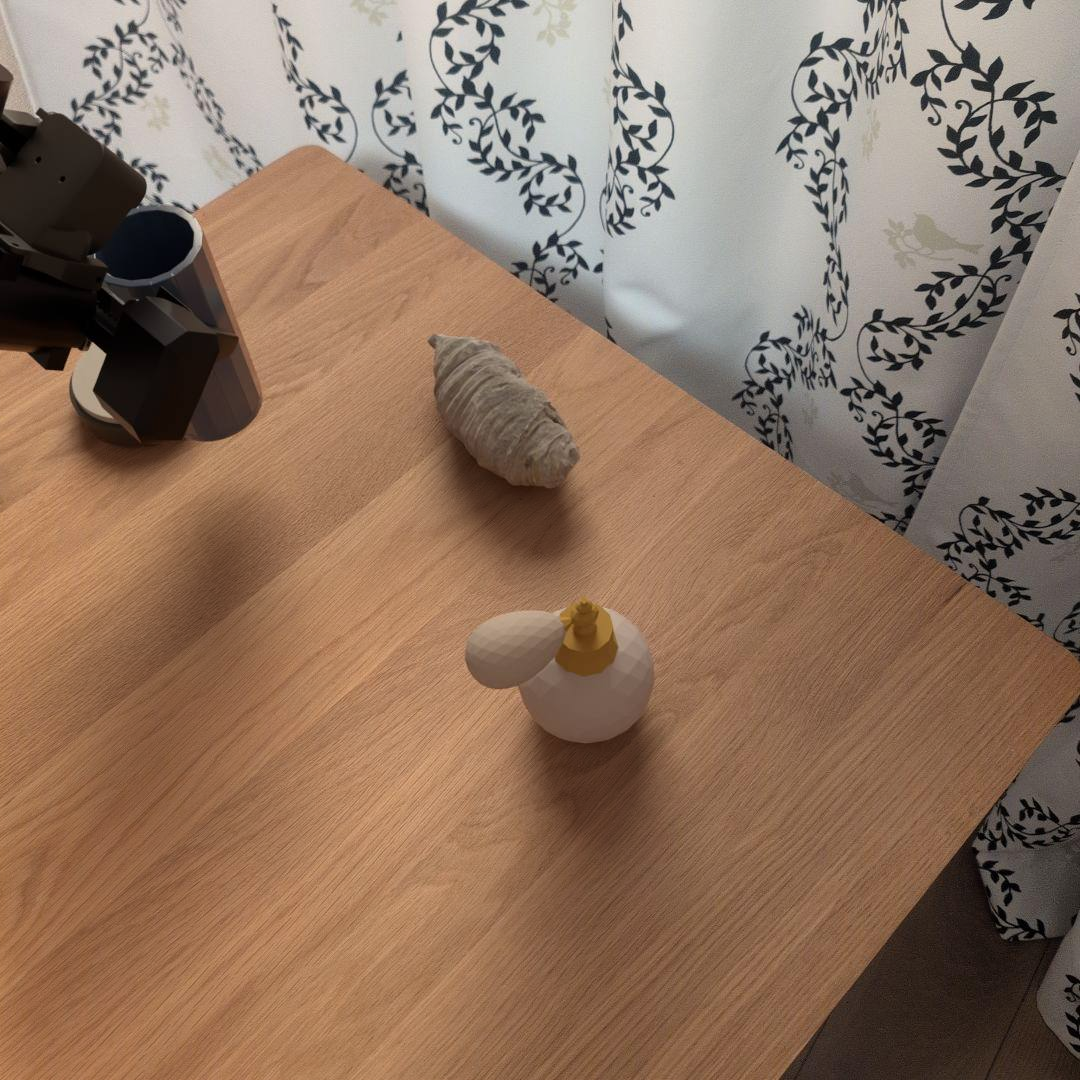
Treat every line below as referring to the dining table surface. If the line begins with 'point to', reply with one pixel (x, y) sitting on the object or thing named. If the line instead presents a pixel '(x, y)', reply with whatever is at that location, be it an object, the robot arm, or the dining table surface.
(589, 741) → the perfume bottle
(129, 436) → the beige and brown disc
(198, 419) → the cup
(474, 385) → the taro root
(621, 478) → the dining table surface
